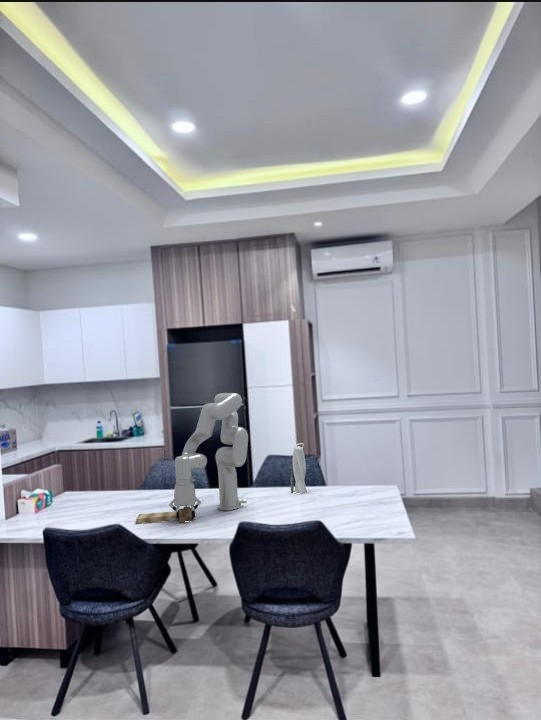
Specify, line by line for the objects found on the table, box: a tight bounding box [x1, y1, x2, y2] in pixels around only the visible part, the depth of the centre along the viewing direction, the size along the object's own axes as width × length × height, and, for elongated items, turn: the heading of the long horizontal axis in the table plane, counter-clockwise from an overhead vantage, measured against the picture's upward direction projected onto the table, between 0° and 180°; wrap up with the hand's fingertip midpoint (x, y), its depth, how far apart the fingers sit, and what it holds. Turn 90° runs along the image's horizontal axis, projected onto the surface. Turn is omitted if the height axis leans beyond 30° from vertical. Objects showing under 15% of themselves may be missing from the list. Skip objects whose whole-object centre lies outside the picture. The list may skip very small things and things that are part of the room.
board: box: [135, 510, 196, 525], centre depth 239 cm, size 28×8×2 cm, turn 96°
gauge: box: [178, 506, 193, 523], centre depth 237 cm, size 6×11×7 cm, turn 5°
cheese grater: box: [289, 442, 308, 495], centre depth 278 cm, size 8×8×28 cm
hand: (185, 518), depth 234 cm, fingers closed on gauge, 6 cm apart
